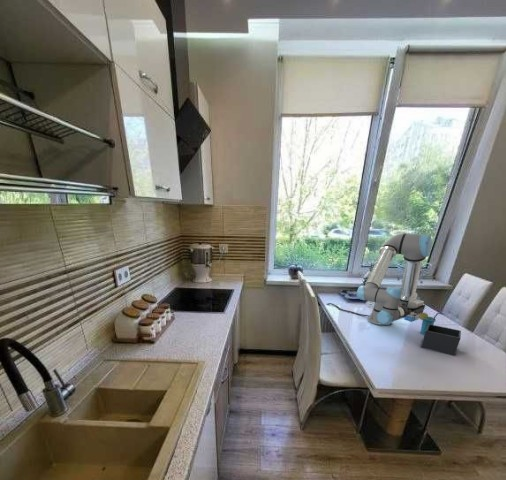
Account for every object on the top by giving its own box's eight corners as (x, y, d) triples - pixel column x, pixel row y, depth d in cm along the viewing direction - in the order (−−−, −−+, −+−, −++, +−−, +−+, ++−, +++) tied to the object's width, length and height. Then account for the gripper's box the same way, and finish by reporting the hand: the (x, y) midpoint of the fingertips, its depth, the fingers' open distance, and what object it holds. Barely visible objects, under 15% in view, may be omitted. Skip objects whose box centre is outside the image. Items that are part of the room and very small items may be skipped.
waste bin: (420, 347, 163) (425, 330, 158) (423, 339, 173) (428, 323, 168) (454, 355, 154) (460, 338, 150) (455, 347, 164) (461, 330, 159)
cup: (434, 331, 185) (440, 310, 178) (440, 336, 178) (447, 314, 171) (412, 330, 186) (418, 309, 180) (417, 335, 179) (424, 313, 173)
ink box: (411, 322, 164) (418, 298, 157) (403, 319, 167) (409, 296, 161) (419, 319, 168) (425, 296, 162) (411, 316, 172) (417, 294, 166)
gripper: (382, 314, 163) (403, 307, 175) (412, 323, 150) (433, 315, 162) (384, 302, 160) (406, 295, 172) (416, 311, 147) (436, 303, 159)
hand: (419, 305), depth 167 cm, fingers closed on ink box, 5 cm apart
